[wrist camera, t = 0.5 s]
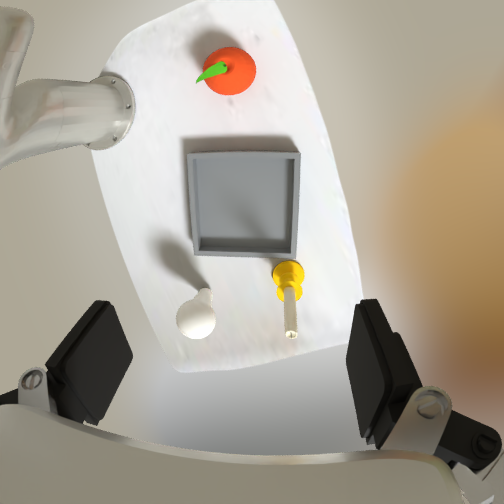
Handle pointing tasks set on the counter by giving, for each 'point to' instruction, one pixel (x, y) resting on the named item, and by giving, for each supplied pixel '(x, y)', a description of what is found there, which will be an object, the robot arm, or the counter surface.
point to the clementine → (228, 71)
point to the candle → (289, 292)
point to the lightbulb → (197, 315)
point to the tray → (244, 203)
